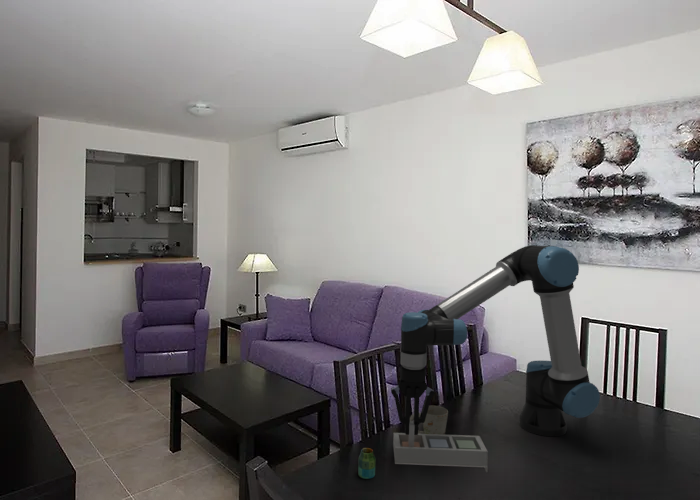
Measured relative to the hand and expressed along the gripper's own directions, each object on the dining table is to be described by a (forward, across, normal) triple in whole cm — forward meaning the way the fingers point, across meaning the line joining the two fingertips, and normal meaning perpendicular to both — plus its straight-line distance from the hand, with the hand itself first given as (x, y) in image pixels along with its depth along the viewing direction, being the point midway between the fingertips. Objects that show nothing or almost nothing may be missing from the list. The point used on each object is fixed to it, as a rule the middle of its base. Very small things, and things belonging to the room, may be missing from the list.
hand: (411, 444), depth 138 cm
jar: (+5, +13, +12) cm, 18 cm away
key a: (+2, -16, 0) cm, 16 cm away
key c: (+3, 0, 0) cm, 3 cm away
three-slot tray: (+5, -8, 0) cm, 9 cm away
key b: (+2, -8, 0) cm, 8 cm away
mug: (+5, -7, -14) cm, 16 cm away
